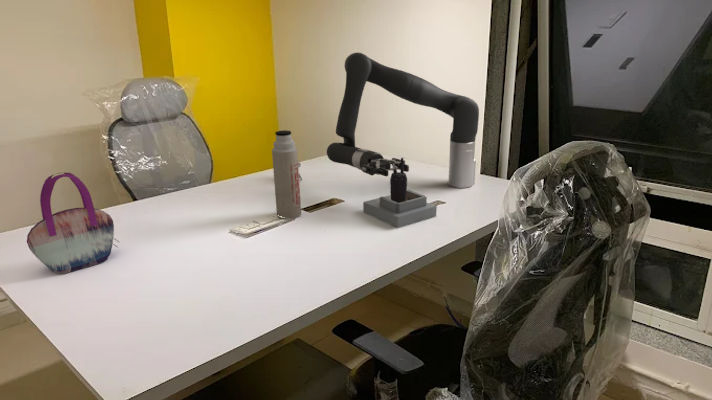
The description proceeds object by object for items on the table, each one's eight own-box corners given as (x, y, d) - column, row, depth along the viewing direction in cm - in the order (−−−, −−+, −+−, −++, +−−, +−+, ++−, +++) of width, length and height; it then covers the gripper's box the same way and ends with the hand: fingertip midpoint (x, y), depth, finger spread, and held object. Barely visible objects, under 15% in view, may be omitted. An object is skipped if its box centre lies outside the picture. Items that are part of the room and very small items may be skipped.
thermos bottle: (306, 213, 170) (301, 130, 161) (289, 221, 164) (283, 134, 155) (288, 209, 175) (283, 127, 166) (271, 216, 169) (265, 132, 160)
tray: (400, 201, 179) (400, 184, 177) (436, 216, 165) (436, 197, 163) (363, 211, 171) (363, 193, 169) (398, 227, 157) (398, 207, 155)
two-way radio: (406, 200, 169) (406, 156, 164) (407, 205, 165) (408, 159, 160) (389, 201, 169) (389, 156, 164) (390, 205, 165) (390, 160, 160)
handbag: (115, 245, 148) (99, 162, 140) (127, 256, 141) (111, 169, 133) (31, 269, 135) (8, 178, 127) (39, 282, 128) (15, 186, 120)
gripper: (350, 153, 171) (380, 163, 159) (383, 147, 179) (414, 156, 167) (351, 175, 174) (380, 186, 161) (383, 168, 182) (414, 178, 169)
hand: (398, 170), depth 164 cm, fingers open, 8 cm apart
